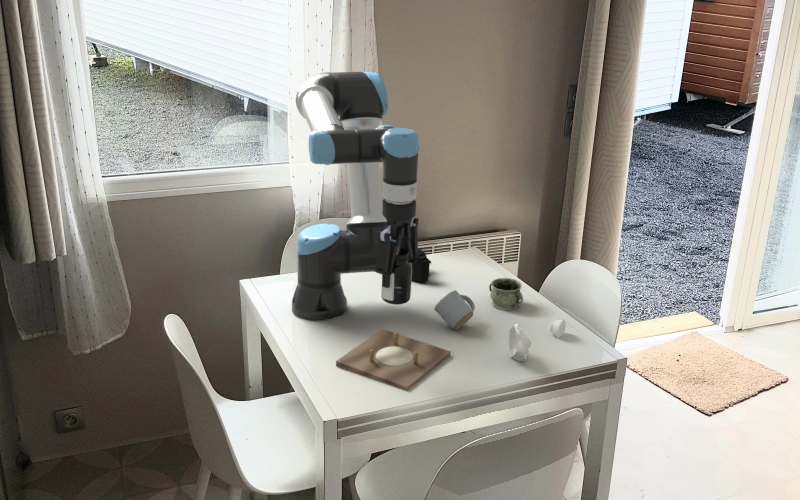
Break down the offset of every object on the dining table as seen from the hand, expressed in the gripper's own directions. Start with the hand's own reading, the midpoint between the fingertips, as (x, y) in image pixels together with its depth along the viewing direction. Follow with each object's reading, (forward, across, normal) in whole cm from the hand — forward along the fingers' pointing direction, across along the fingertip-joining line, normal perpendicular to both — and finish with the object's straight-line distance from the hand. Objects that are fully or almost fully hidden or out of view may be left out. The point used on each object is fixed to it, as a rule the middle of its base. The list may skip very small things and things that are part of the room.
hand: (396, 293), depth 181 cm
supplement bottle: (+2, 0, 0) cm, 2 cm away
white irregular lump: (+19, +35, -27) cm, 48 cm away
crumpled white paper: (+19, +18, -25) cm, 36 cm away
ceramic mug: (+19, +26, -3) cm, 32 cm away
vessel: (+19, +45, -8) cm, 49 cm away
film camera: (+19, +48, +25) cm, 57 cm away
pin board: (+18, 0, 0) cm, 18 cm away
